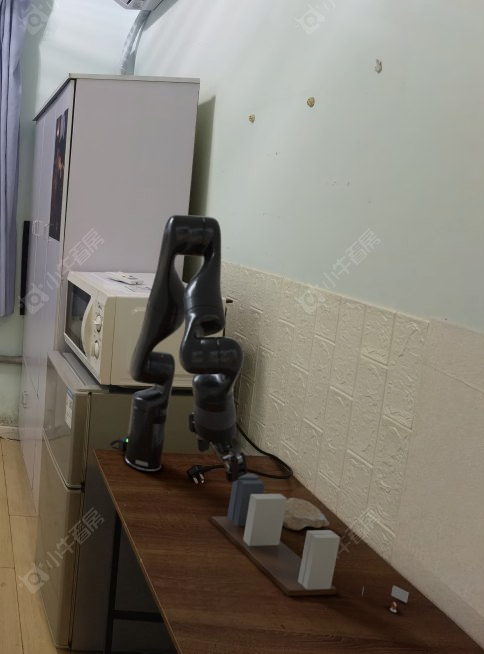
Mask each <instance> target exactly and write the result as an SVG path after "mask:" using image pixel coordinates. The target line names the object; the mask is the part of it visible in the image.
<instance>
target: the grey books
mask: <svg viewBox="0 0 484 654" xmlns="http://www.w3.org/2000/svg"><path fill="white" fill-rule="evenodd" d="M259 478H260V477H259V476H258V475H256V474H255V473H247V474H245V475H243V476H241V477H239V479H238V480H236V481H234V482H232V484H231V490H230V496H229V497H230V499H229V503H228V509H227V515H226V516H227V517H228V518H229V519H230V520H231V521H233V522H234V523H235V524H236V525H237V526H246V520H247V514H248V508H249V502H250V495H251V494H264V490H265V484H266V483H265V482H264V481H262V480H261V479H259Z"/></svg>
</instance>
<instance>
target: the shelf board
mask: <svg viewBox="0 0 484 654" xmlns="http://www.w3.org/2000/svg"><path fill="white" fill-rule="evenodd" d="M227 516H228V515H226V516H225V515H224V516H223V515H222V516H218V515H217V516H211V521H210V522H211V523H212V524H214V526H216V527H217V528H218V529H219V530H220V532H222V533H223V534H224V535H225V536H226V537H227V538H228V539H229V540H230V541H231V542H232V543H233V544H234V545H235V546H237V548H238V549H240V551H241V552H243V554H244V555H245V556H246V557H247V558H248V559H249V560H250V561H252V562H253V563H254V565H256V566H257V567H258V569H260V570H261V571H262V572H263V573H264V574H265V575H266V576H267V577H268V578H269V579H270V580H271V581H272V582H273V583H274V584H275V585H277V587H278V588H280V590H281V591H282V592H283V593H285V594H286V595H287V597H296V596H297V597H298V596H321V595H323V596H324V595H336V593H337V588H336V586H334V585H333V584H331V588H330V589H311V590H307V589H306V588H305V587H303V585H301V584H300V583H299V582H298V578H299V572H300V567H301V561H302V558H301V557H300V556H299V555H298V554H297V553H296V552H294V551H293V550H292V549H291V548H289V546H287V545H286V544H285V543H284V542H283V541H282V540H280V542H279V545H260V546H249V545H248V544H247V543H246V542H245V541H244V540H243V539H244V532H245V526H237V525H236V524H235V523H234V522H233V521H231V520H230V519H229V518H228V517H227Z"/></svg>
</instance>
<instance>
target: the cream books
mask: <svg viewBox="0 0 484 654" xmlns="http://www.w3.org/2000/svg"><path fill="white" fill-rule="evenodd" d="M340 542H341V537H340V536H339V535H338V534H336V533H335V532H334V531H333V530H331V529H324V530H323V529H321V530H320V529H319V530H317V529H315V530H306V535H305V540H304V544H303V545H304V546H303V550H302V558H301V559H302V561H301V567H300V572H299V578H298V582H299V583H300V584H301V585H303V587H305V588H306V589H307V590H311V589H330V588H331V585H332V582H333V578H334V571H335V566H336V562H337V556H338V552H339V546H340Z"/></svg>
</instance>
